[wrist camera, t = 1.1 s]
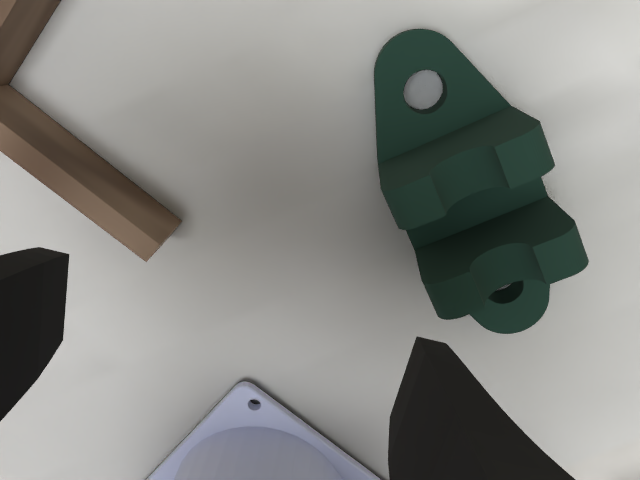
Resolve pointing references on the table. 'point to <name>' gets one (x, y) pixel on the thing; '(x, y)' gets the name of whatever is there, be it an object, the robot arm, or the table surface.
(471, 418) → the robot arm
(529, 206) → the mount
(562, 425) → the table surface
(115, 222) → the dock bay
